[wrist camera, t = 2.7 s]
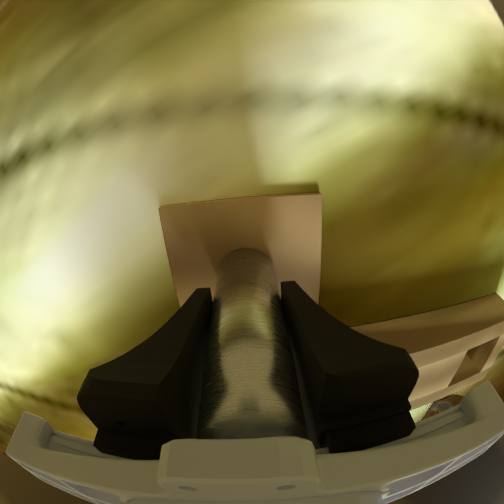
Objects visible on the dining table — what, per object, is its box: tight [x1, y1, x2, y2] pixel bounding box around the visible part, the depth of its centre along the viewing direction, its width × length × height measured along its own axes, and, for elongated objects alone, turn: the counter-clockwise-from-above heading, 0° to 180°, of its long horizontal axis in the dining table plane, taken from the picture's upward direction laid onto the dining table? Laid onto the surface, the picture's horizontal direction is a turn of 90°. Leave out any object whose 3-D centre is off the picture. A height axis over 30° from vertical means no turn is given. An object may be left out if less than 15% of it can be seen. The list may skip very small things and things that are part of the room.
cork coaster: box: [158, 193, 322, 308], centre depth 15 cm, size 8×8×1 cm
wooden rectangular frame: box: [350, 293, 504, 411], centre depth 17 cm, size 8×18×4 cm, turn 94°
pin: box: [196, 248, 308, 440], centre depth 10 cm, size 3×3×10 cm
